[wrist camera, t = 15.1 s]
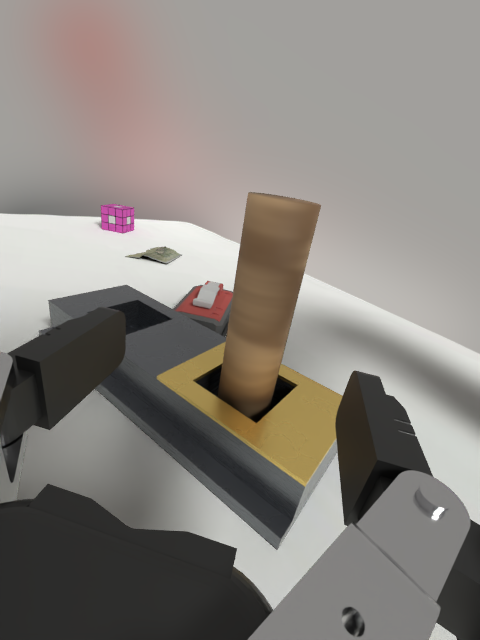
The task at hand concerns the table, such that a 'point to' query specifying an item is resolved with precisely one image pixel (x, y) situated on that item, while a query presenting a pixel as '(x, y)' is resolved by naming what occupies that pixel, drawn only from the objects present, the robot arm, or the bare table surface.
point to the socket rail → (214, 411)
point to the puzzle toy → (117, 218)
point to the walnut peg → (264, 298)
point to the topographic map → (159, 254)
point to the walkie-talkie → (208, 306)
